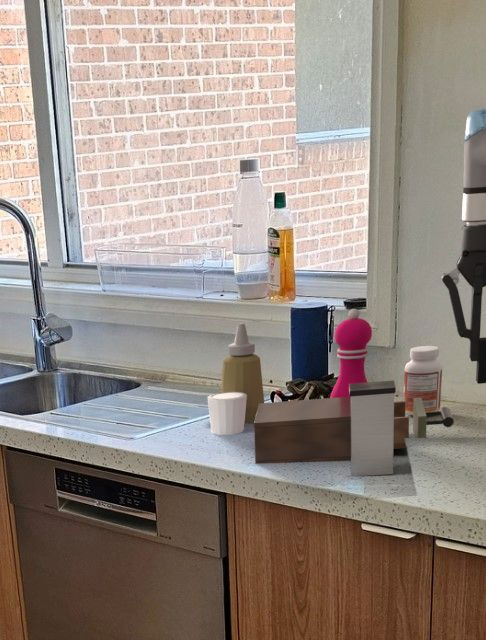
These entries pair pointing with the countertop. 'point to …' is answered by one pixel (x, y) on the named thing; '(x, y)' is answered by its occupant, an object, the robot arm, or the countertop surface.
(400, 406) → the drawer
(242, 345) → the squeeze bottle
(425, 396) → the pill bottle
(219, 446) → the countertop surface
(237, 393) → the white tapered cup
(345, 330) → the pepper mill
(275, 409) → the cabinet
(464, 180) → the robot arm
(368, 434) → the white rectangular block
